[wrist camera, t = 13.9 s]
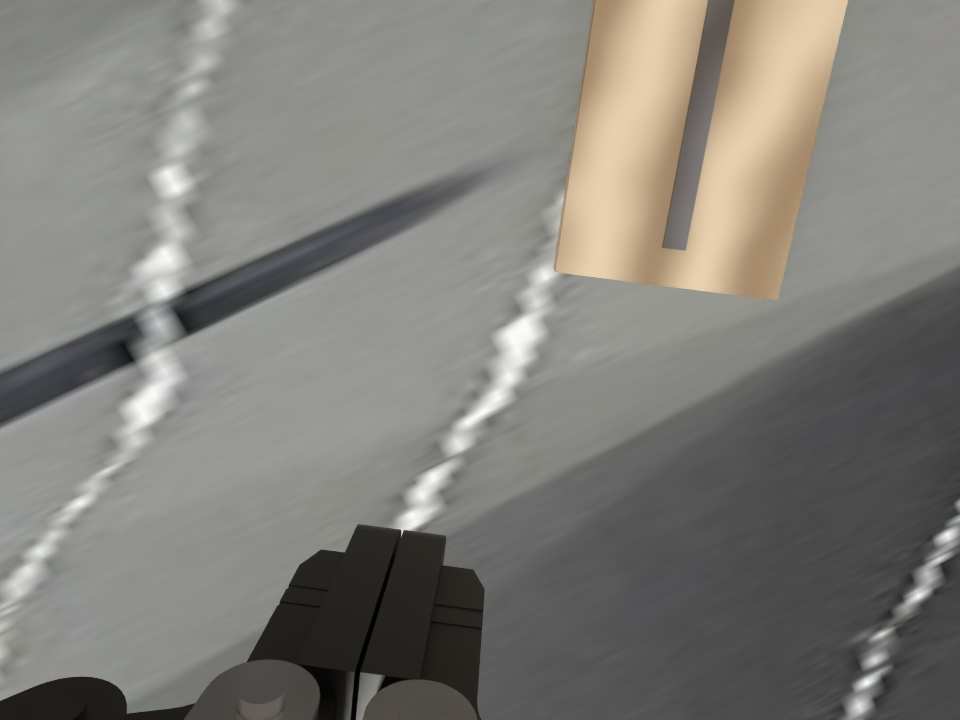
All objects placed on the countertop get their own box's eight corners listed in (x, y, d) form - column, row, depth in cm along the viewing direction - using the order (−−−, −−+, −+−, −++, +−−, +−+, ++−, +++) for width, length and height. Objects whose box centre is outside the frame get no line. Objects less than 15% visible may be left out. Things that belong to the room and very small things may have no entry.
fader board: (553, 268, 39) (555, 272, 38) (636, -289, 33) (642, -314, 31) (776, 296, 39) (788, 302, 38) (906, -257, 32) (927, -280, 31)
